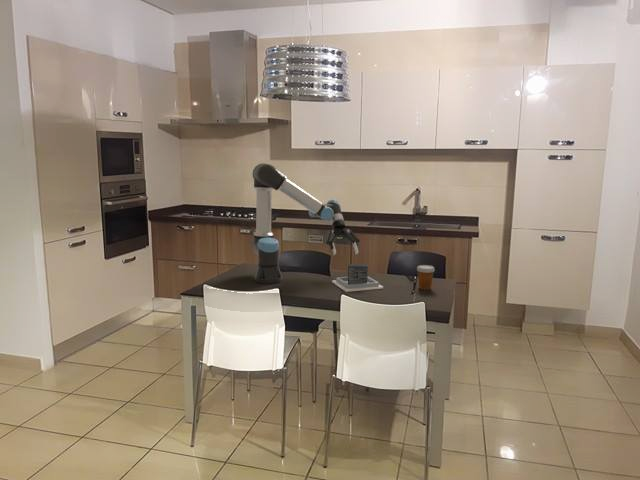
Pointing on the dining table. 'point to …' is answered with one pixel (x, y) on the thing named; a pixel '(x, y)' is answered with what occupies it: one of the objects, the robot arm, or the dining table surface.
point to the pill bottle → (425, 276)
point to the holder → (343, 284)
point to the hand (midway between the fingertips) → (346, 253)
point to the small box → (357, 273)
